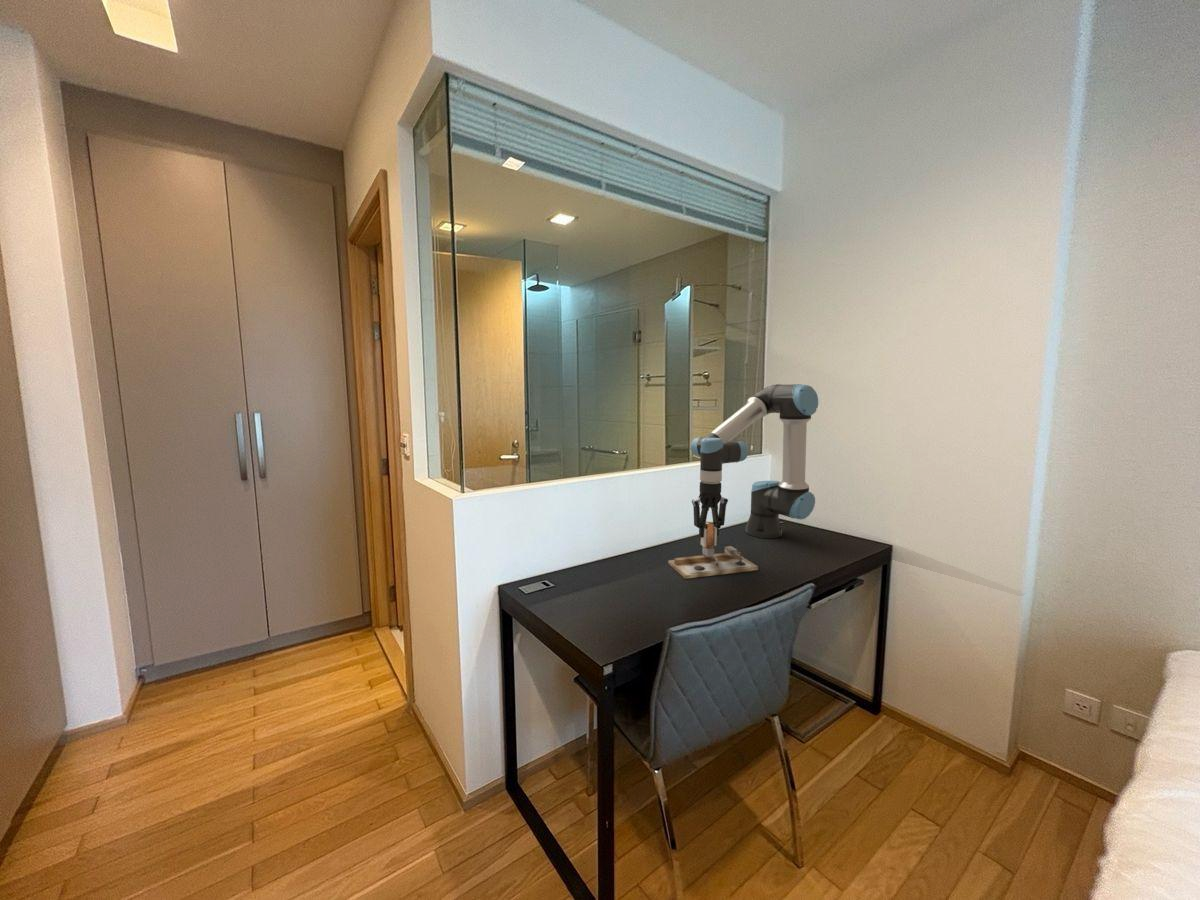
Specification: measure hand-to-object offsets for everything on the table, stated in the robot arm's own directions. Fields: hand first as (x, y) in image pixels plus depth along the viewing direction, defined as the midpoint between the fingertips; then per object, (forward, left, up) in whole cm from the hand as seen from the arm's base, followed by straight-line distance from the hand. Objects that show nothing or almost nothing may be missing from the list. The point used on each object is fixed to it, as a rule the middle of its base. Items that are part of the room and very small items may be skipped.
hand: (708, 544), depth 172 cm
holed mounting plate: (0, +3, -7) cm, 8 cm away
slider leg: (0, +3, -5) cm, 6 cm away
